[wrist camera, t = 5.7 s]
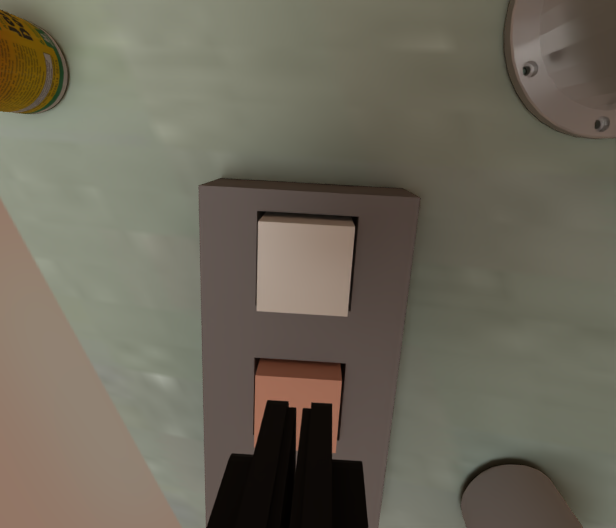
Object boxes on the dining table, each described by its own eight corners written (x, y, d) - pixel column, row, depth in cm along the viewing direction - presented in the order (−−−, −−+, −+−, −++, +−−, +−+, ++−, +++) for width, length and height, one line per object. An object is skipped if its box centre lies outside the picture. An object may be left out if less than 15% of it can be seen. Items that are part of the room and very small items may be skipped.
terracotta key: (264, 343, 28) (255, 375, 24) (339, 348, 27) (341, 380, 24) (263, 407, 29) (253, 447, 25) (334, 412, 29) (335, 453, 25)
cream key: (267, 209, 25) (258, 221, 21) (350, 214, 25) (355, 227, 21) (266, 287, 26) (256, 311, 23) (343, 291, 26) (347, 316, 22)
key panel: (220, 178, 27) (198, 185, 22) (402, 188, 27) (420, 197, 22) (222, 494, 34) (206, 551, 30) (366, 504, 34) (373, 563, 29)
